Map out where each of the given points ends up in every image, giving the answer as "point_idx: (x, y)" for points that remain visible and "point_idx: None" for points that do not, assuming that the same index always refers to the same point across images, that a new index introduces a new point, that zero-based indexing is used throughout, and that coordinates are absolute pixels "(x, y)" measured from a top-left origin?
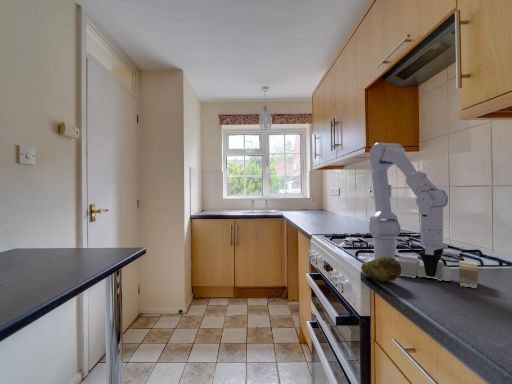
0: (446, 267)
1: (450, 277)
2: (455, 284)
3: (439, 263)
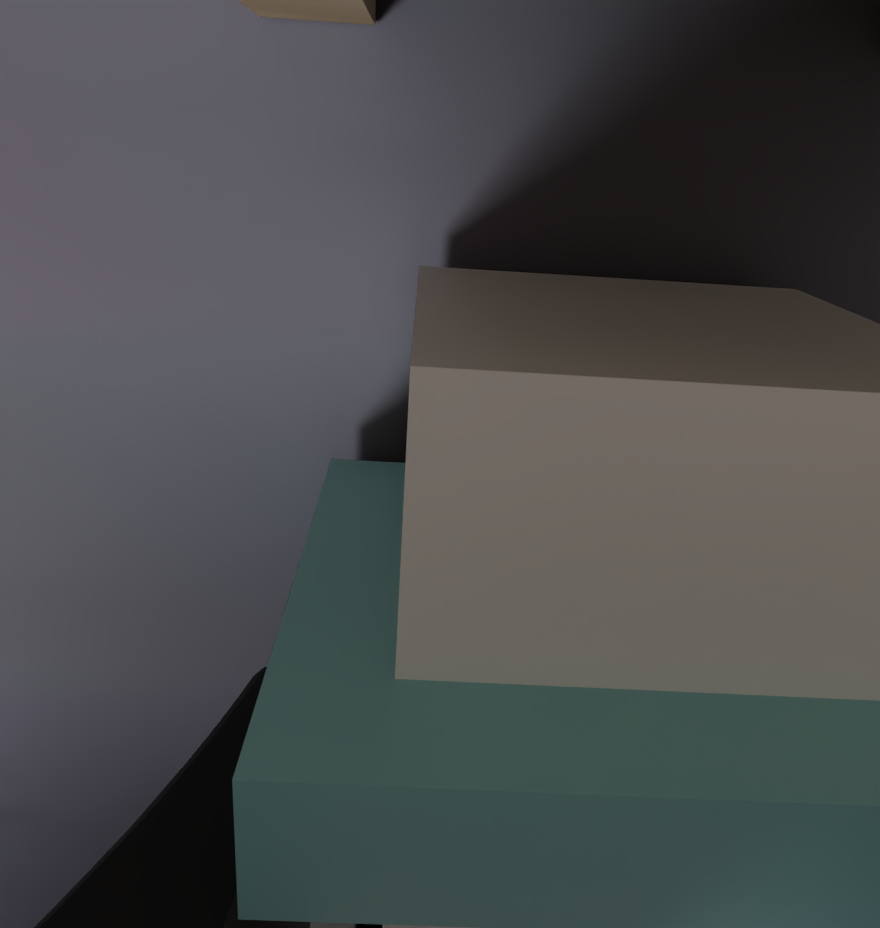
0: (638, 555)
1: (875, 322)
2: (819, 159)
3: (613, 905)
